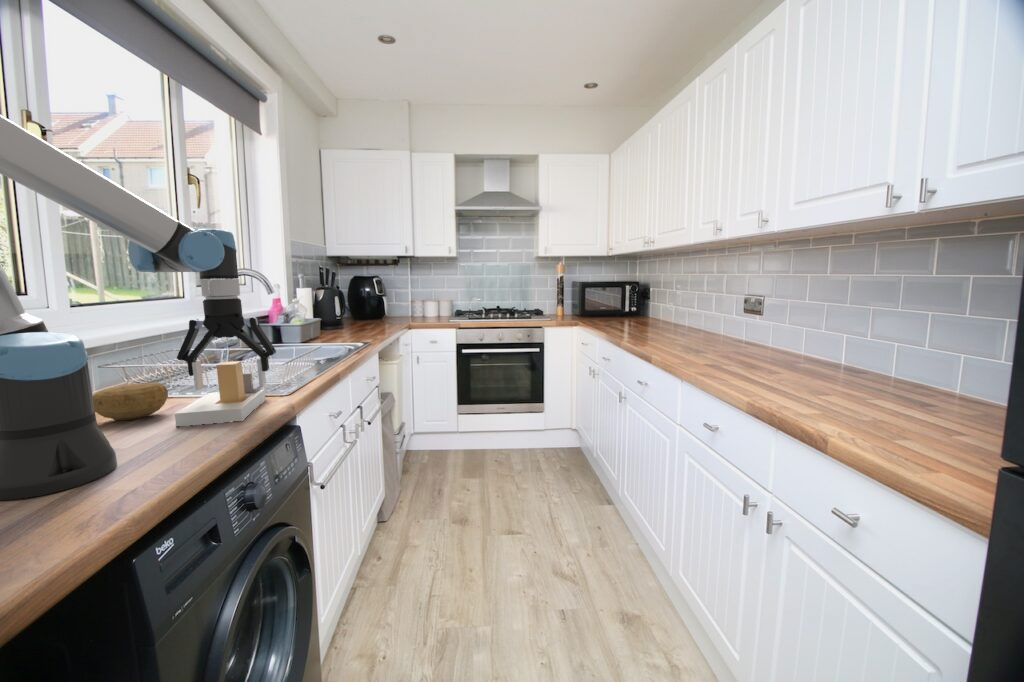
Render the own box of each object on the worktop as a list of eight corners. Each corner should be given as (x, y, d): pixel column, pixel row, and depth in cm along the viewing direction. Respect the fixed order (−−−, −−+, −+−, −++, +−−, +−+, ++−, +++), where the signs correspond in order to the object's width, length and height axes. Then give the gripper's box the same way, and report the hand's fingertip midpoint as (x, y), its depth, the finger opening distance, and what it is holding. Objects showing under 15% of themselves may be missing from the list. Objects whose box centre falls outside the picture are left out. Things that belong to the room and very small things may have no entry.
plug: (240, 413, 107) (235, 364, 105) (221, 414, 106) (216, 365, 104) (246, 408, 111) (241, 361, 109) (228, 410, 110) (222, 362, 108)
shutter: (255, 392, 114) (253, 373, 113) (225, 394, 112) (223, 375, 112) (263, 385, 121) (261, 368, 120) (235, 387, 119) (233, 370, 118)
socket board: (242, 421, 101) (240, 408, 100) (176, 426, 98) (174, 413, 97) (265, 400, 118) (264, 389, 118) (210, 404, 115) (208, 392, 115)
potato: (99, 418, 105) (94, 384, 104) (173, 408, 112) (169, 377, 111) (86, 430, 97) (80, 394, 96) (167, 418, 104) (162, 385, 102)
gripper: (284, 295, 111) (291, 379, 114) (168, 298, 105) (179, 386, 108) (276, 297, 104) (284, 386, 107) (151, 300, 98) (163, 394, 101)
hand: (231, 386), depth 107 cm, fingers open, 13 cm apart
